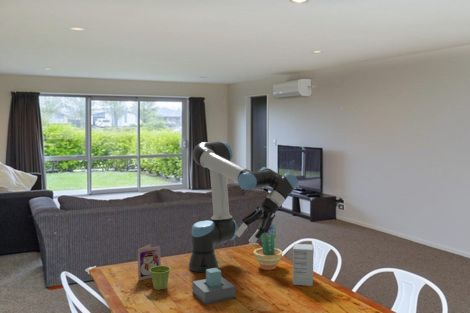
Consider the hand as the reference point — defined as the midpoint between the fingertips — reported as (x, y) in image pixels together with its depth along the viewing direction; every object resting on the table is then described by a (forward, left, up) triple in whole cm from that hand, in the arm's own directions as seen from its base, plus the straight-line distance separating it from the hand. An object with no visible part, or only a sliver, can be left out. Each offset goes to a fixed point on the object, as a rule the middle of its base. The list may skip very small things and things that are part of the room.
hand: (243, 239), depth 186 cm
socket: (-7, -12, -23) cm, 27 cm away
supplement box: (+16, +25, -23) cm, 38 cm away
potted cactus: (-9, +33, -23) cm, 41 cm away
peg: (-7, -12, -22) cm, 26 cm away
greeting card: (-48, -14, -23) cm, 55 cm away
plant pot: (-32, -20, -23) cm, 44 cm away
